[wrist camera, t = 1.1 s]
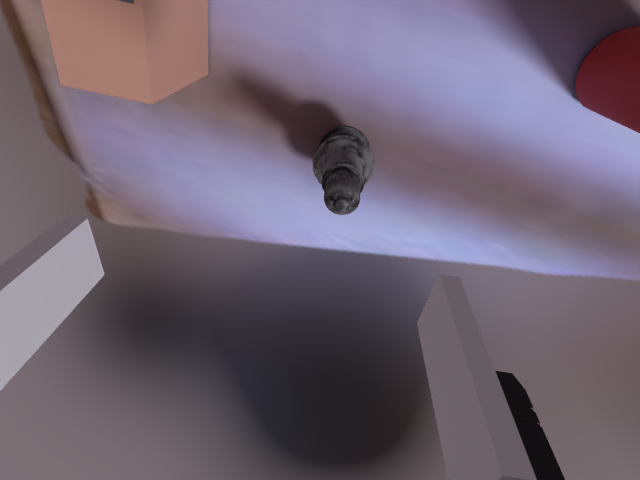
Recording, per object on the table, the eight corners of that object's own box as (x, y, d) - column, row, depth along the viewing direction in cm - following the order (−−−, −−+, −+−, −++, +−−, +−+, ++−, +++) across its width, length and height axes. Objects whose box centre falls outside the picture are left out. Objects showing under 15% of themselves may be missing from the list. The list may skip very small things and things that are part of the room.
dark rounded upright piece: (329, 113, 34) (319, 161, 24) (383, 137, 34) (395, 192, 25) (307, 165, 37) (291, 226, 27) (357, 186, 38) (359, 252, 28)
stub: (135, -20, 28) (32, -29, 19) (208, -4, 29) (140, -4, 19) (143, 60, 32) (59, 85, 23) (208, 74, 32) (150, 104, 23)
